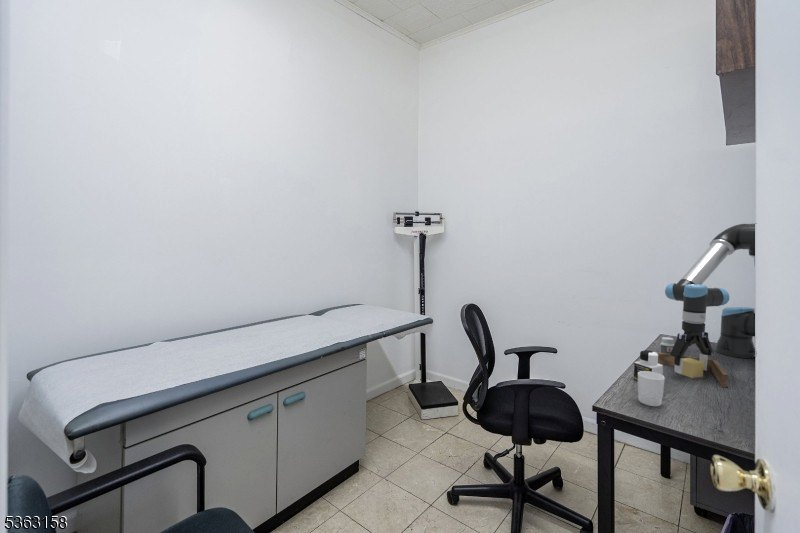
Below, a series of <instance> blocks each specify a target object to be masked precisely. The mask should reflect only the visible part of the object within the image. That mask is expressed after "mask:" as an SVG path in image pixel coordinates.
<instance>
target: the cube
mask: <svg viewBox="0 0 800 533" xmlns="http://www.w3.org/2000/svg"><path fill="white" fill-rule="evenodd" d="M703 366H704V362H701V361H698V360H695V359H691V358H683V369H682V375H681V376H683V375H685V376H688V377H691V378H695V377H702V376H704V370H703ZM685 376H684V377H685ZM688 377H687V378H688ZM691 378H690V379H691Z"/></svg>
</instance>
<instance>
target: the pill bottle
mask: <svg viewBox="0 0 800 533" xmlns="http://www.w3.org/2000/svg"><path fill="white" fill-rule="evenodd" d="M674 344H675V339H674V338H673V337H666V336H663V337H661V342H660V346H659V353H667V354H671V351H672V349H673V347H674ZM674 354H675V353H674Z"/></svg>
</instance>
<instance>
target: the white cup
mask: <svg viewBox="0 0 800 533" xmlns="http://www.w3.org/2000/svg"><path fill="white" fill-rule="evenodd" d="M665 381H666V378H665V376H664V375H663V374H662V375H661V374H658V373H655V372H650V371H640V372H638V380H637V393H638V398H637V399H638V401H639V403H640V404H641V403H642V404H643V405H646V406H650V407H660V406H662V400H663V397H664V387H665Z"/></svg>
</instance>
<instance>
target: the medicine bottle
mask: <svg viewBox="0 0 800 533" xmlns="http://www.w3.org/2000/svg"><path fill="white" fill-rule="evenodd" d="M656 352H657V351H653V350H646V349H645V350H642V351H640V352H639V360H638V361H634V366H633V379H634V378H635V380H637V381H638V372H640V371H650V372H655V373H658V374H661V375H663V372H664V365H662V364H658V354H657V353H656Z"/></svg>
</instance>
